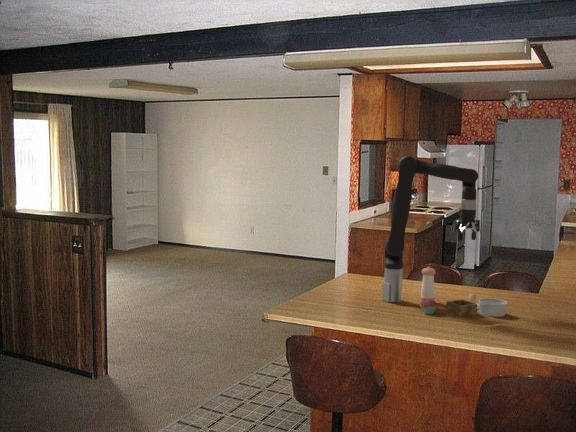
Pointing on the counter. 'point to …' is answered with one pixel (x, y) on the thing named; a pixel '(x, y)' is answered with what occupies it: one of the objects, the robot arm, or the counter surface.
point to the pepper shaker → (427, 284)
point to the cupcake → (428, 305)
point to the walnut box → (461, 308)
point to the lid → (473, 299)
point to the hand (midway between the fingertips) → (466, 240)
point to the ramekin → (492, 307)
